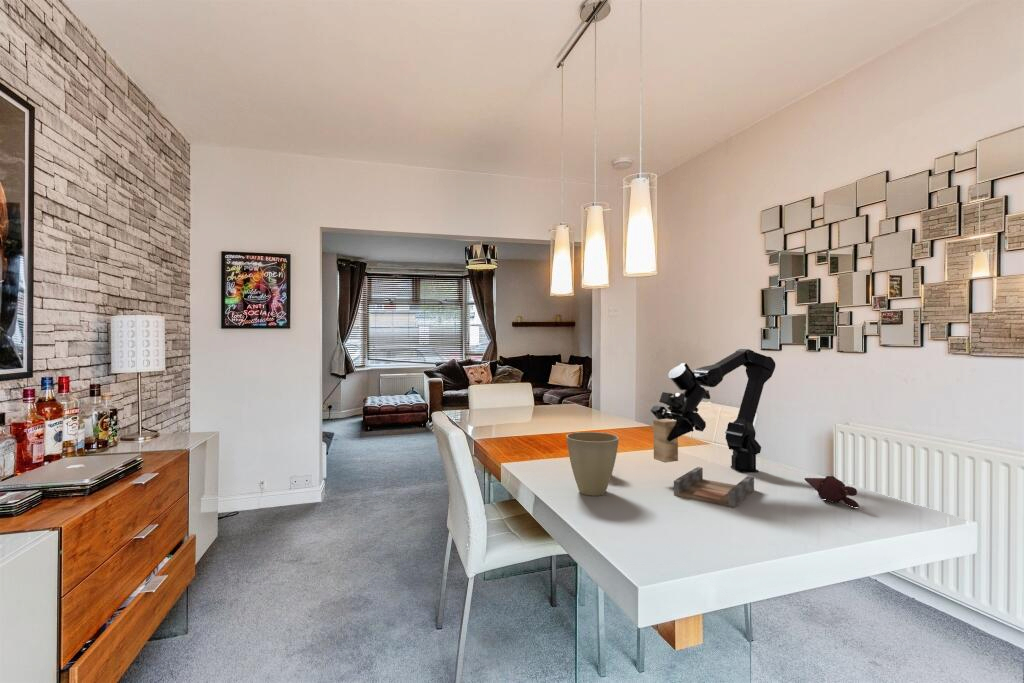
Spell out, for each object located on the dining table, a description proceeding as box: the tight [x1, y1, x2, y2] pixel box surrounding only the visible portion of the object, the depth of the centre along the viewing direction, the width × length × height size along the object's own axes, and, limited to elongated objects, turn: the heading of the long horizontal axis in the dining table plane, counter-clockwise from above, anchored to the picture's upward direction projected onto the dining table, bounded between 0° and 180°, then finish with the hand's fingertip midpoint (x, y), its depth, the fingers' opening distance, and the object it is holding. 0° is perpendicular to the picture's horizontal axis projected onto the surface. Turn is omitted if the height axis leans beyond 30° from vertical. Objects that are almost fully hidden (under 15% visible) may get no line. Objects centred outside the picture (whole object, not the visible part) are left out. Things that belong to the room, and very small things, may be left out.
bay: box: [673, 466, 755, 509], centre depth 134 cm, size 19×16×4 cm
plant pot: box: [565, 431, 619, 496], centre depth 135 cm, size 15×15×16 cm
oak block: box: [652, 419, 679, 463], centre depth 144 cm, size 5×5×12 cm
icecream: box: [804, 475, 860, 508], centre depth 126 cm, size 7×7×15 cm
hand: (662, 438), depth 143 cm, fingers closed on oak block, 5 cm apart
